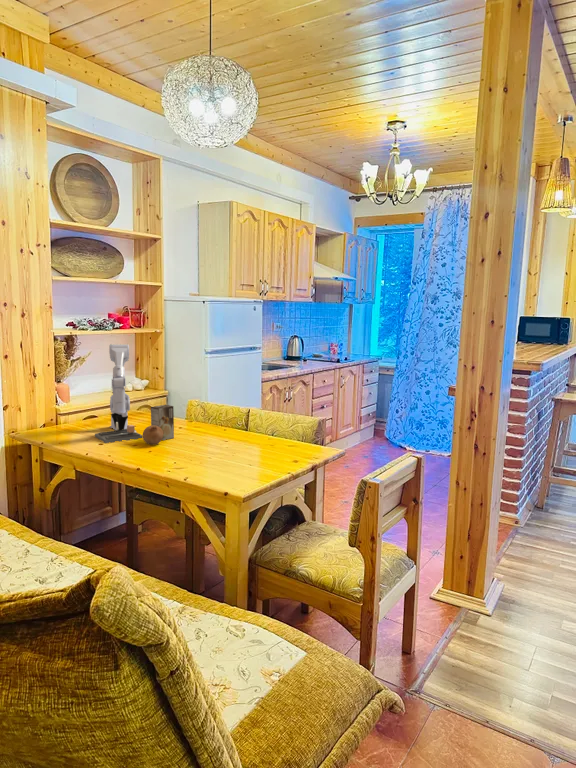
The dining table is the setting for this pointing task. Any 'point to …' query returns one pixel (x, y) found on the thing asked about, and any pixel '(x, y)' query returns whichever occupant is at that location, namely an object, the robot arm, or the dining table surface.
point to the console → (117, 436)
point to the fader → (130, 429)
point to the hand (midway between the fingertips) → (119, 428)
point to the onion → (152, 435)
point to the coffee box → (163, 420)
